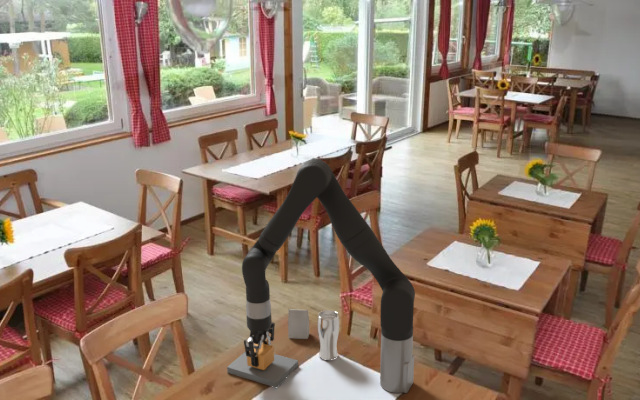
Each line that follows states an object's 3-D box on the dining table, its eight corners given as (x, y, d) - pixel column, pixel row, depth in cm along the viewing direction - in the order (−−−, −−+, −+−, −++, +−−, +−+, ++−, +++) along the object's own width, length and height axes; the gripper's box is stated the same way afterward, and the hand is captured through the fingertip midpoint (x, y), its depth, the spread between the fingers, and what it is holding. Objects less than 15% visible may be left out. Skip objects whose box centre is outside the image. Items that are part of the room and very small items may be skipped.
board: (298, 366, 187) (297, 350, 186) (276, 387, 176) (276, 371, 175) (250, 352, 195) (249, 337, 194) (227, 372, 184) (226, 357, 182)
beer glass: (339, 350, 196) (339, 309, 191) (338, 362, 189) (338, 320, 185) (318, 349, 196) (318, 309, 192) (316, 361, 190) (316, 319, 185)
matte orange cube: (274, 360, 185) (273, 346, 184) (263, 370, 180) (263, 355, 179) (258, 355, 188) (257, 341, 186) (247, 365, 183) (246, 351, 181)
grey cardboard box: (307, 339, 203) (307, 312, 200) (288, 338, 204) (287, 311, 201) (309, 333, 207) (308, 307, 204) (290, 332, 207) (289, 306, 204)
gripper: (256, 325, 171) (258, 375, 176) (281, 304, 183) (283, 352, 188) (234, 319, 174) (237, 369, 179) (261, 299, 187) (263, 346, 191)
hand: (261, 360), depth 184 cm, fingers closed on matte orange cube, 6 cm apart
